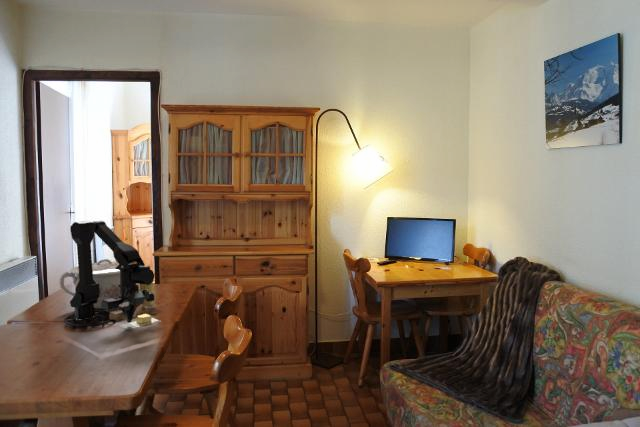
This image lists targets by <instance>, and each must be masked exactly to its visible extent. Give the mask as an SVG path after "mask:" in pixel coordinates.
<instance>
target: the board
mask: <svg viewBox="0 0 640 427" xmlns="http://www.w3.org/2000/svg"><path fill="white" fill-rule="evenodd" d="M159 322H161V320H160V319H156V318H154V317H151V322H150V323H146V324H140V323H137V320H136V321H131V322H130V323H128V322H127V323H122V324H119V325H118V327H121V328H122V329H126V331H127V330H131V329H136V328H139V327H140V328H141V327H143V326H144V327H145V326H148V325H152V324H156V323H159Z"/></svg>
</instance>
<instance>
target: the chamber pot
mask: <svg viewBox="0 0 640 427" xmlns="http://www.w3.org/2000/svg"><path fill="white" fill-rule="evenodd" d="M118 265H119V263H118V262H117V261H112V260H110V259H108V258H104V259H100V260H98V261H97V262H92V269H93V280H94V281H95V282H96V283H99V285H100V286H99V289H100V293H99V297H98V300H97V303H95V304H94V307H95V310H106V309H105V308H102V307H101V302H102V301H103V300H104V299H110V298H113V299H116V300H119V299H121V298H119V295H120V287H119V284H120V270H116V267H117V266H118ZM69 277H70V278H72V283H73V287H74V291H71V290H69V289H68V288H66V285H65V279H66V278H69ZM78 282H79V268H78V266H75V267H73V268H71V269H70V271H66V272H63V274H62V275H61V276H60V278H59V286H60V289H62V291H64V292H65V293H66V294H68V295H70V296H71V297H72V298H73V297H74V296H75V290H76V286H77V284H78Z"/></svg>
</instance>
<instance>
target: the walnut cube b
mask: <svg viewBox="0 0 640 427" xmlns="http://www.w3.org/2000/svg"><path fill="white" fill-rule="evenodd" d="M156 308H157V307H156V306H155V304H154V305H147V306H144V307H143V314H148V315H155V314H156V313H157V312H156V311H157V310H156Z"/></svg>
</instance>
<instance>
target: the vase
mask: <svg viewBox="0 0 640 427" xmlns="http://www.w3.org/2000/svg"><path fill="white" fill-rule="evenodd" d="M153 283H154V281H153V282H152V283H151V284H150V285H144V284H139V290H140V291H141V290H142V291H143V290H146V289H148V290H149V292H151V293H153V294H154V287H153ZM147 305H154V306H155V300H154V301H150V302H147V301H146V299H145V301H144V304H142V308H144V306H147Z"/></svg>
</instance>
